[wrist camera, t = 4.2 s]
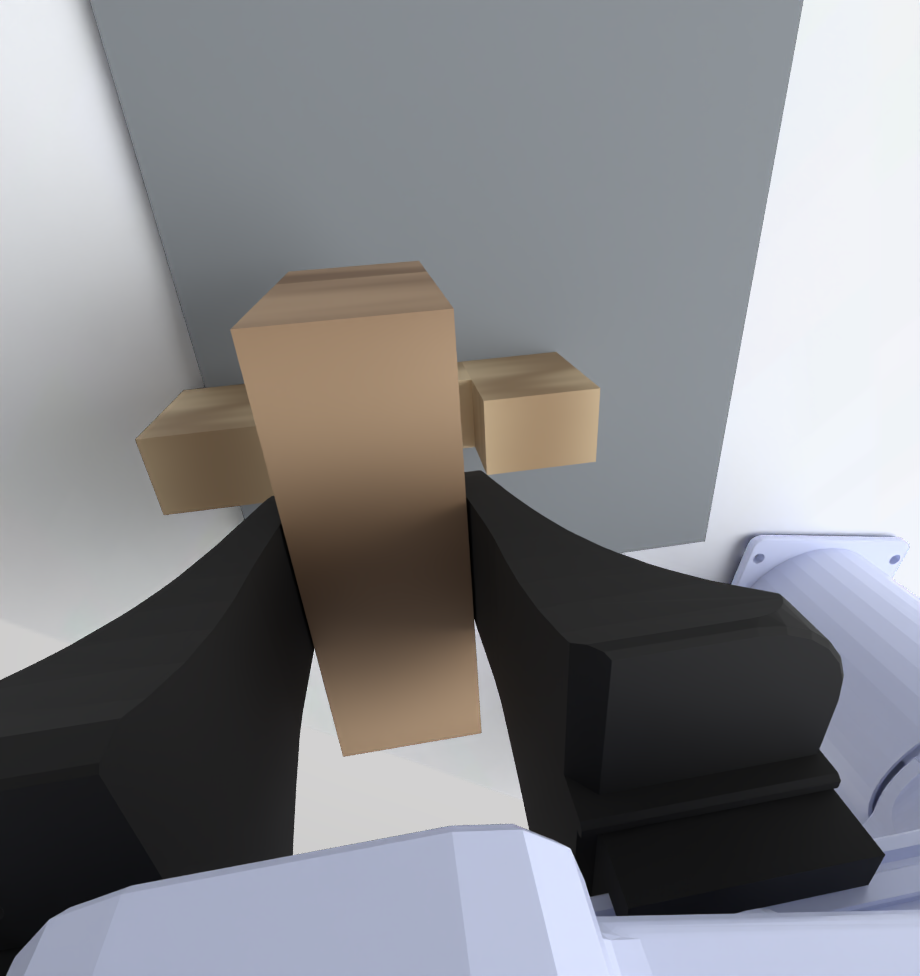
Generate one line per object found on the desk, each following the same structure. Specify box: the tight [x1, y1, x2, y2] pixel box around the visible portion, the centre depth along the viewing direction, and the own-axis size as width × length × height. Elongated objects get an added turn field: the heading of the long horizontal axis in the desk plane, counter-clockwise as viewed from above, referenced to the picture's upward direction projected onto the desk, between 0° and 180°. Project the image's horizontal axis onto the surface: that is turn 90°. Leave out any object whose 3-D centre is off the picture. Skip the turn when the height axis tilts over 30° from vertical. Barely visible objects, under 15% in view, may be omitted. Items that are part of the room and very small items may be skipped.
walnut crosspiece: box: [230, 261, 481, 757], centre depth 12 cm, size 9×3×6 cm, turn 4°
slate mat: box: [90, 0, 803, 553], centre depth 17 cm, size 22×18×1 cm
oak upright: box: [135, 352, 600, 515], centre depth 16 cm, size 12×2×4 cm, turn 94°
